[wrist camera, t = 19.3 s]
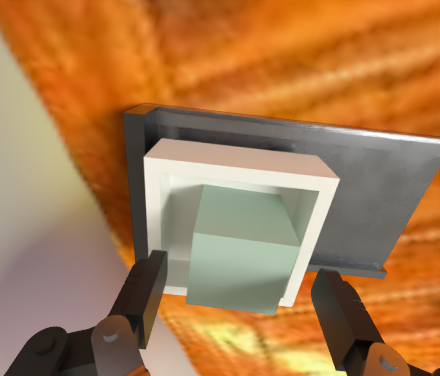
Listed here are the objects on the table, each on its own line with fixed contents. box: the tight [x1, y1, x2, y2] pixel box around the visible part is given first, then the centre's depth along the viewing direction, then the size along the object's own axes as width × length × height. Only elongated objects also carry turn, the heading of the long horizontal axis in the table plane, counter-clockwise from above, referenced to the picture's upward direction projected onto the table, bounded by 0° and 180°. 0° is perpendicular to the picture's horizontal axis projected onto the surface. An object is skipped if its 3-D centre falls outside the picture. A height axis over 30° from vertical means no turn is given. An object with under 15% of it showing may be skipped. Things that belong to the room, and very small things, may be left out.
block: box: [186, 184, 301, 315], centre depth 14 cm, size 5×5×5 cm
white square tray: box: [144, 138, 340, 307], centre depth 17 cm, size 10×10×6 cm
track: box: [123, 103, 440, 279], centre depth 18 cm, size 13×22×4 cm, turn 84°
